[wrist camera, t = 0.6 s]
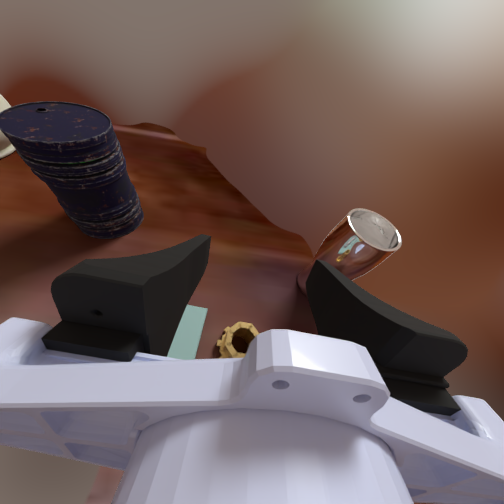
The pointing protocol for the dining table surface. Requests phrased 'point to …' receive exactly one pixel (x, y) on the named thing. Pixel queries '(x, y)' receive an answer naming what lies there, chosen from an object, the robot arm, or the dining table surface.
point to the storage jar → (77, 163)
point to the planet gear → (239, 330)
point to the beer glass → (356, 245)
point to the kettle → (3, 146)
